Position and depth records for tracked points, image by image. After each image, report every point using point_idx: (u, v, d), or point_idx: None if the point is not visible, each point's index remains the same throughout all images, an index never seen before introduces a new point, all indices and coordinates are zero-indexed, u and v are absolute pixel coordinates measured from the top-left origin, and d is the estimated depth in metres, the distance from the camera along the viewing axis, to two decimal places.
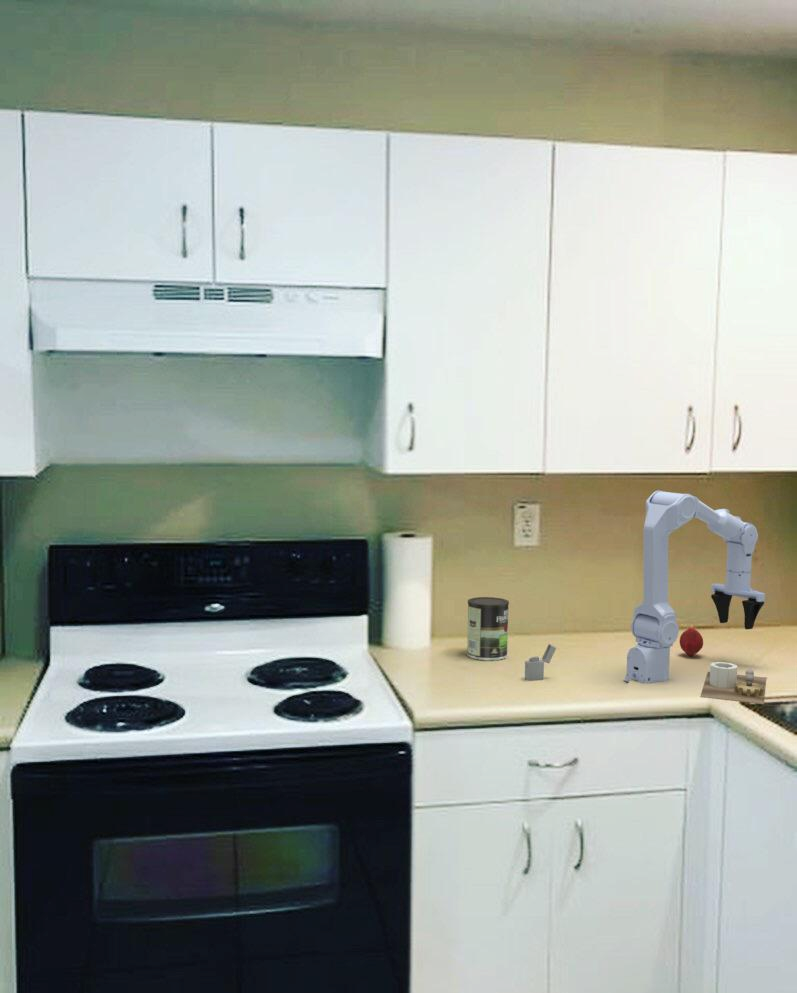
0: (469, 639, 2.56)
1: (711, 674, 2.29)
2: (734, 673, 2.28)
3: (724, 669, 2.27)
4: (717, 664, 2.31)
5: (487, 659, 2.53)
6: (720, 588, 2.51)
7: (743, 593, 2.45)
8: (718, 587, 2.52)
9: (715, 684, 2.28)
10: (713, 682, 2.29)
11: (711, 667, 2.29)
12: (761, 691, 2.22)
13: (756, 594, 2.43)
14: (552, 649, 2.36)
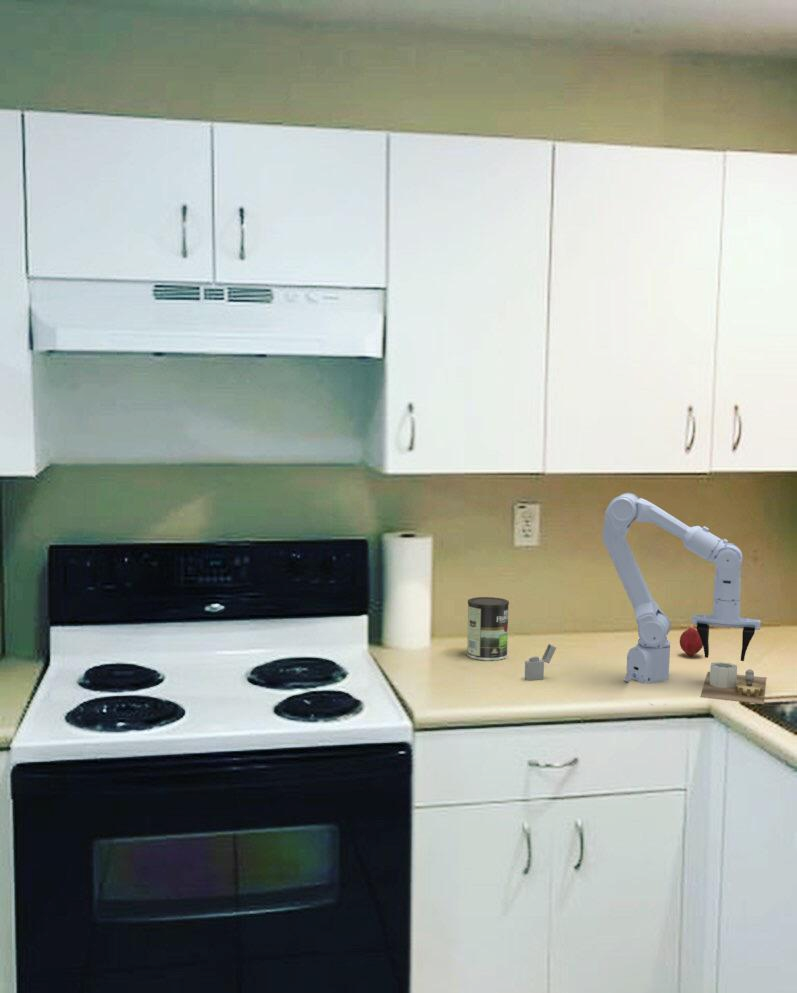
0: (469, 639, 2.56)
1: (711, 674, 2.29)
2: (734, 673, 2.28)
3: (724, 669, 2.27)
4: (717, 664, 2.31)
5: (487, 659, 2.53)
6: (708, 620, 2.28)
7: (741, 623, 2.26)
8: (704, 619, 2.29)
9: (715, 684, 2.28)
10: (713, 682, 2.29)
11: (711, 667, 2.29)
12: (761, 691, 2.22)
13: (755, 622, 2.25)
14: (552, 649, 2.36)
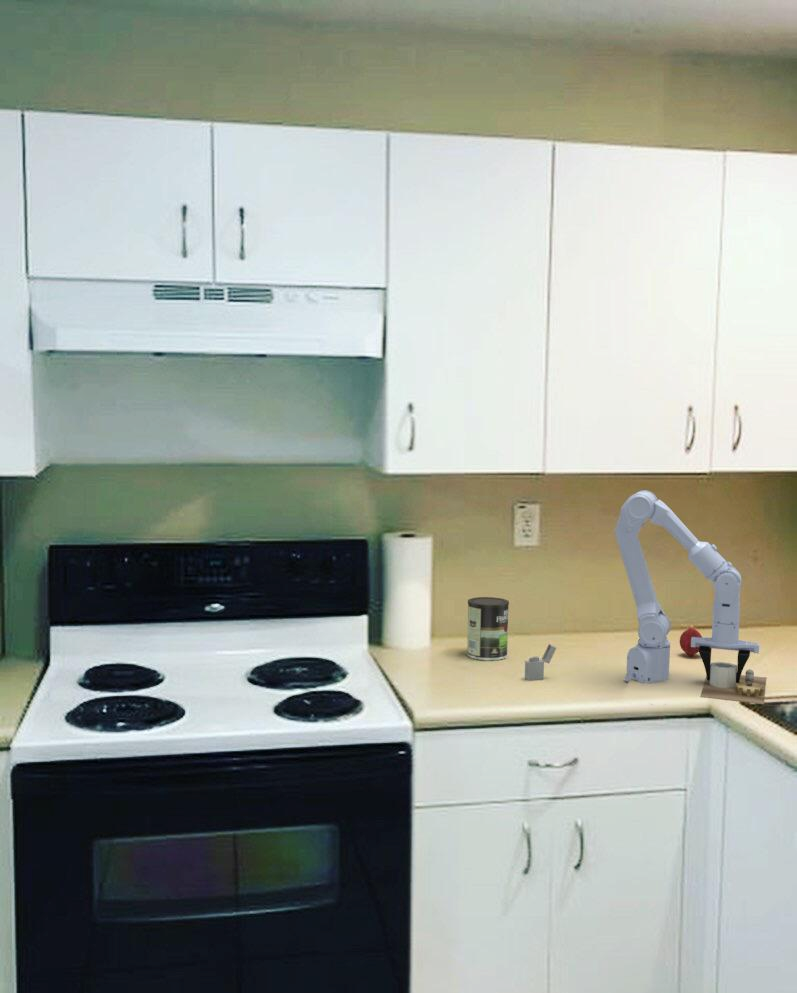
0: (469, 639, 2.56)
1: (711, 674, 2.29)
2: (734, 673, 2.28)
3: (724, 669, 2.27)
4: (717, 664, 2.31)
5: (487, 659, 2.53)
6: (707, 643, 2.29)
7: (740, 646, 2.26)
8: (703, 642, 2.29)
9: (715, 684, 2.28)
10: (713, 682, 2.29)
11: (711, 667, 2.29)
12: (761, 691, 2.22)
13: (754, 645, 2.26)
14: (552, 649, 2.36)
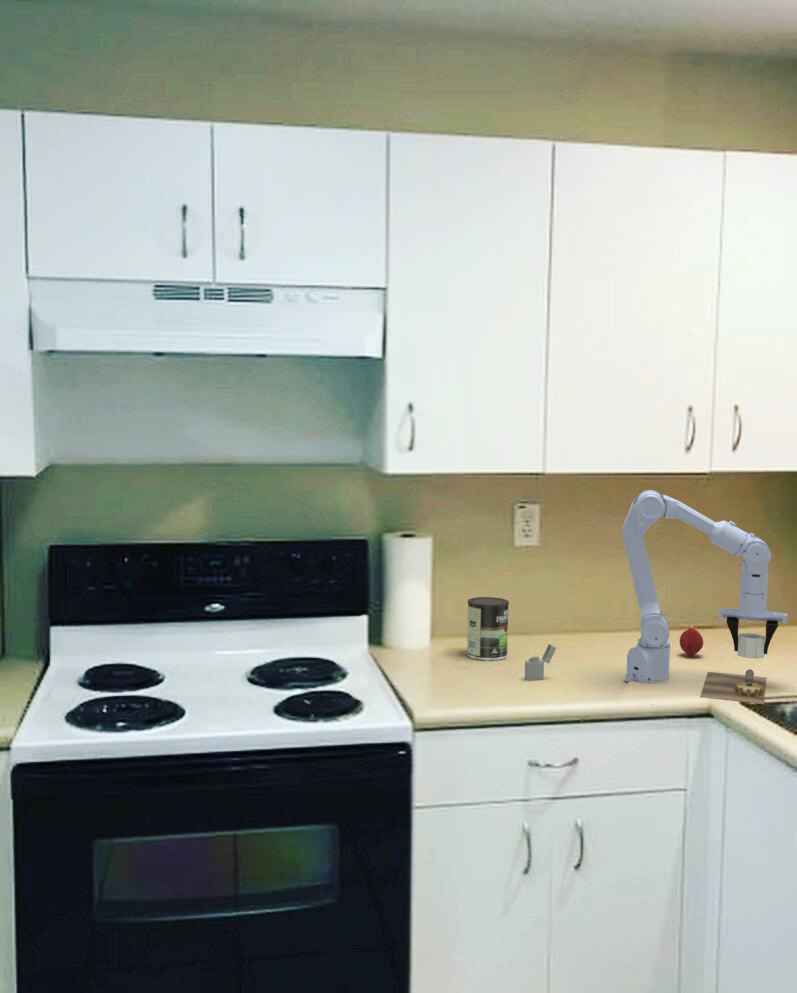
0: (469, 639, 2.56)
1: (739, 645, 2.30)
2: (762, 643, 2.28)
3: (752, 639, 2.27)
4: (745, 635, 2.31)
5: (487, 659, 2.53)
6: (735, 613, 2.29)
7: (768, 616, 2.26)
8: (731, 612, 2.30)
9: (743, 655, 2.29)
10: (741, 653, 2.29)
11: (739, 638, 2.30)
12: (761, 691, 2.22)
13: (782, 616, 2.26)
14: (552, 649, 2.36)
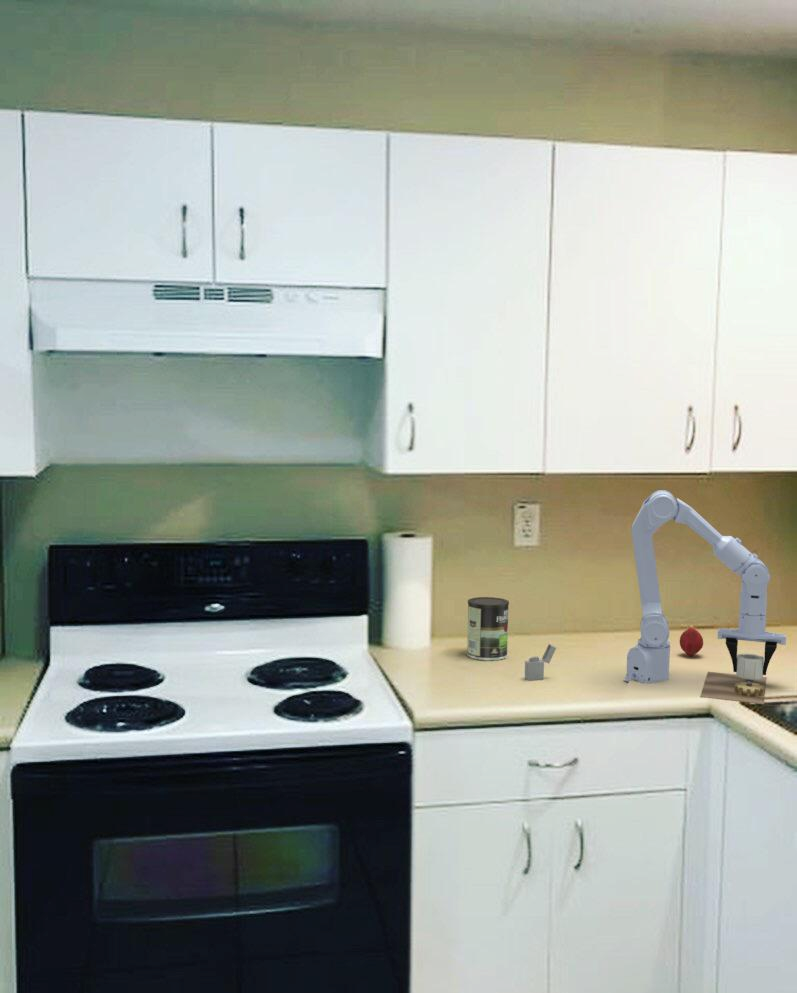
0: (469, 639, 2.56)
1: (738, 666, 2.30)
2: (761, 664, 2.28)
3: (751, 660, 2.28)
4: (744, 656, 2.32)
5: (487, 659, 2.53)
6: (734, 634, 2.29)
7: (767, 637, 2.27)
8: (730, 633, 2.30)
9: (742, 675, 2.29)
10: (740, 673, 2.30)
11: (738, 659, 2.30)
12: (761, 691, 2.22)
13: (781, 637, 2.27)
14: (552, 649, 2.36)
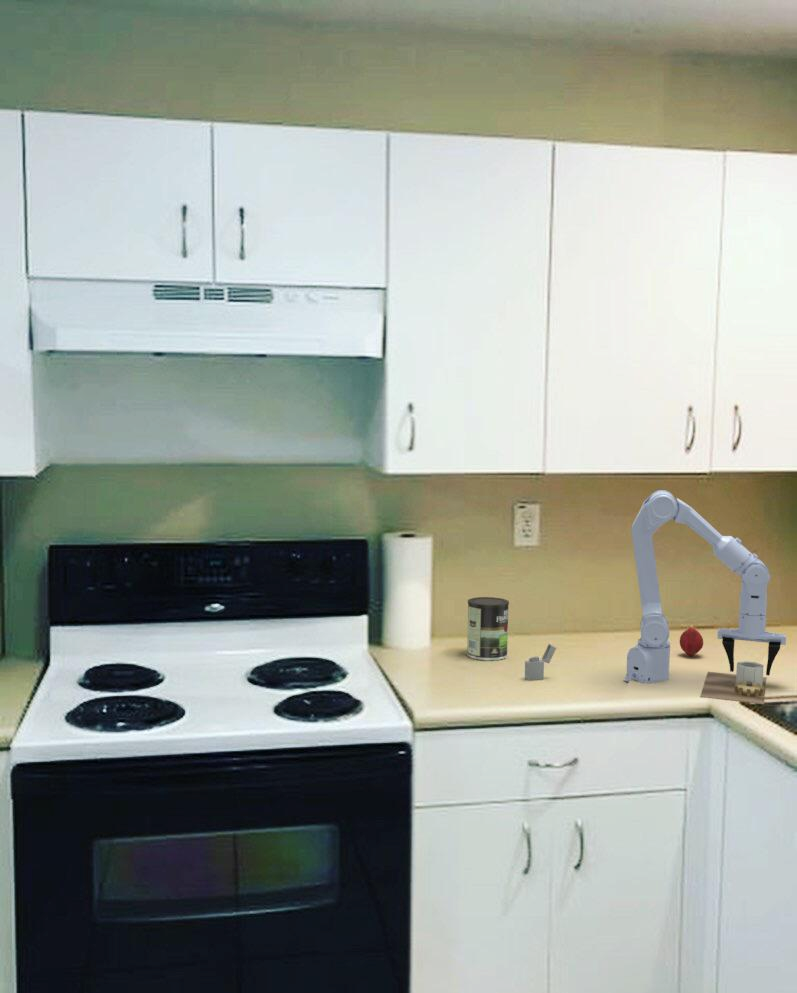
0: (469, 639, 2.56)
1: (737, 673, 2.30)
2: (760, 672, 2.28)
3: (751, 668, 2.28)
4: (743, 663, 2.32)
5: (487, 659, 2.53)
6: (734, 634, 2.29)
7: (767, 637, 2.27)
8: (730, 633, 2.30)
9: None
10: (739, 681, 2.30)
11: (737, 666, 2.30)
12: (761, 691, 2.22)
13: (781, 637, 2.27)
14: (552, 649, 2.36)
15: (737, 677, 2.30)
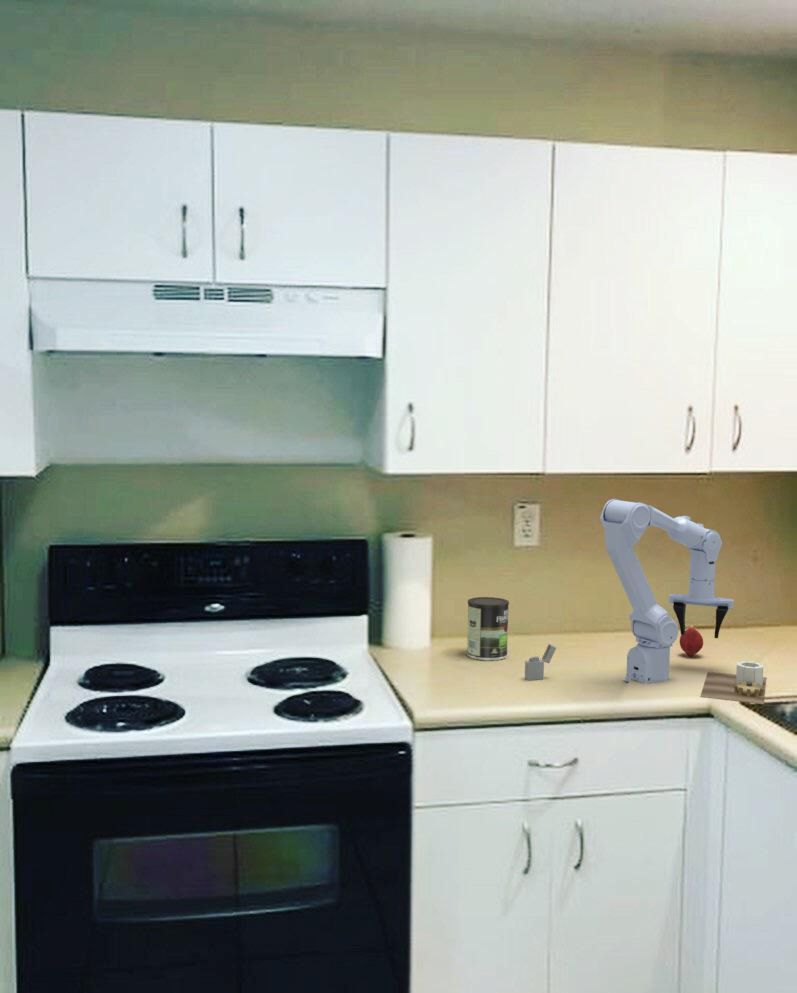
0: (469, 639, 2.56)
1: (737, 673, 2.30)
2: (760, 672, 2.28)
3: (751, 668, 2.28)
4: (743, 663, 2.32)
5: (487, 659, 2.53)
6: (684, 599, 2.41)
7: (715, 602, 2.38)
8: (680, 598, 2.41)
9: None
10: (739, 681, 2.30)
11: (737, 666, 2.30)
12: (761, 691, 2.22)
13: (729, 601, 2.38)
14: (552, 649, 2.36)
15: (737, 677, 2.30)
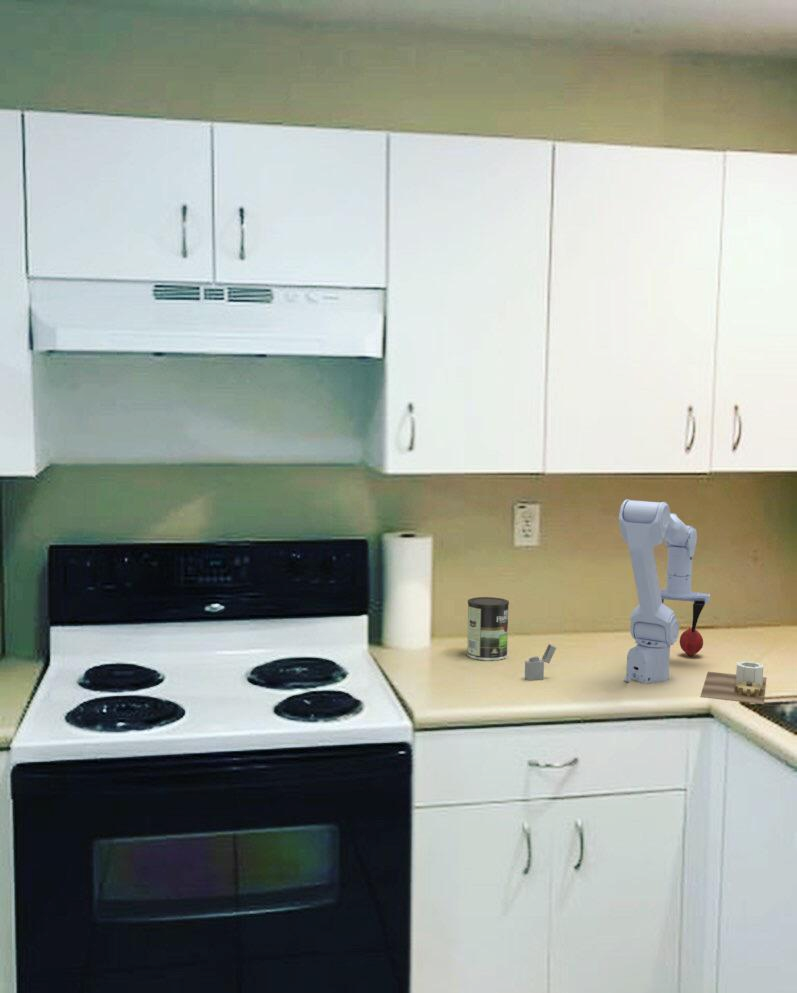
0: (469, 639, 2.56)
1: (737, 673, 2.30)
2: (760, 672, 2.28)
3: (751, 668, 2.28)
4: (743, 663, 2.32)
5: (487, 659, 2.53)
6: (662, 594, 2.46)
7: (692, 596, 2.43)
8: None
9: None
10: (739, 681, 2.30)
11: (737, 666, 2.30)
12: (761, 691, 2.22)
13: (705, 596, 2.43)
14: (552, 649, 2.36)
15: (737, 677, 2.30)
